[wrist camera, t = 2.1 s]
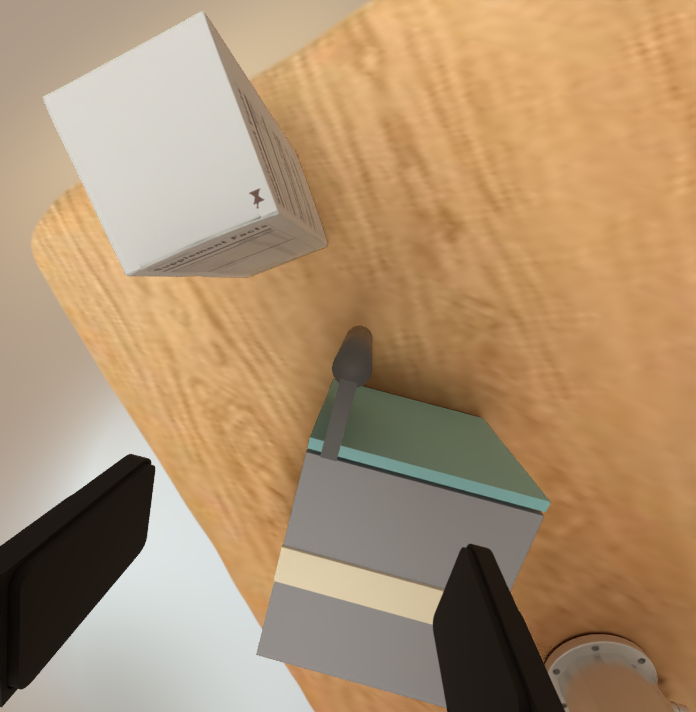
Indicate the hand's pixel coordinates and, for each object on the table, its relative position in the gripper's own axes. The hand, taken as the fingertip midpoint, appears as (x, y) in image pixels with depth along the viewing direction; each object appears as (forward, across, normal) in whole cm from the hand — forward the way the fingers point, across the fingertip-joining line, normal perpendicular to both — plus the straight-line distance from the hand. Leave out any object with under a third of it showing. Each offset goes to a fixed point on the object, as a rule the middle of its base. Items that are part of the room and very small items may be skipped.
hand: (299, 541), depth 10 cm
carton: (+25, -7, +13) cm, 29 cm away
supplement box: (+26, +11, -11) cm, 30 cm away
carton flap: (+25, -7, 0) cm, 26 cm away
